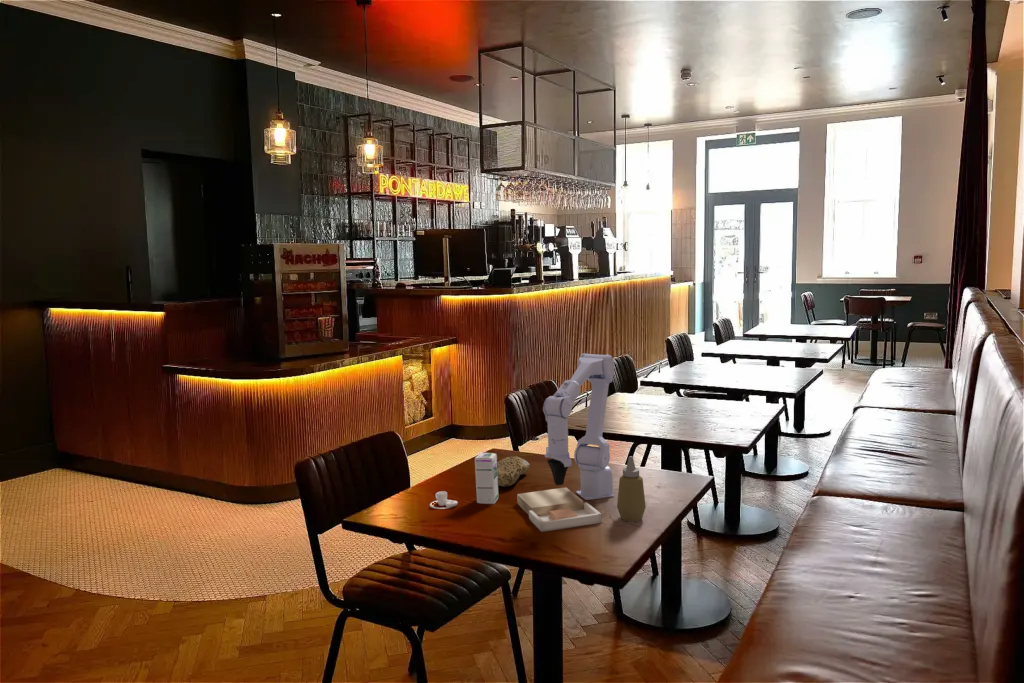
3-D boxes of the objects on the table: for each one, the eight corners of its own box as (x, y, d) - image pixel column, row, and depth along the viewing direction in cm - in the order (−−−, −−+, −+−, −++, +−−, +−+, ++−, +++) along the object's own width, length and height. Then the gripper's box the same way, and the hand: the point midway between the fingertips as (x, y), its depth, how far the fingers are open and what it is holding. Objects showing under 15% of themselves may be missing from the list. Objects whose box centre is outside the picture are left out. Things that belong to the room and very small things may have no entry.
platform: (566, 496, 223) (566, 487, 223) (583, 510, 211) (583, 500, 211) (517, 503, 218) (517, 494, 218) (531, 518, 206) (531, 508, 206)
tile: (569, 513, 208) (569, 508, 208) (577, 520, 202) (577, 515, 202) (549, 516, 206) (549, 511, 206) (557, 523, 200) (557, 518, 200)
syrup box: (495, 504, 218) (493, 457, 217) (476, 503, 220) (474, 457, 218) (498, 497, 224) (497, 452, 222) (480, 497, 225) (478, 452, 223)
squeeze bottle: (611, 516, 206) (610, 455, 204) (635, 511, 209) (635, 451, 207) (626, 525, 198) (626, 462, 196) (651, 520, 202) (651, 458, 199)
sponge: (505, 473, 253) (471, 478, 236) (510, 452, 252) (477, 454, 235) (536, 486, 245) (504, 491, 228) (542, 464, 245) (510, 467, 228)
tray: (586, 510, 211) (586, 502, 211) (601, 522, 201) (601, 514, 201) (529, 519, 205) (528, 510, 205) (541, 532, 196) (541, 523, 195)
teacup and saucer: (461, 507, 218) (461, 494, 217) (437, 513, 214) (436, 499, 213) (448, 499, 225) (448, 486, 225) (425, 504, 221) (424, 491, 221)
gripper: (536, 433, 210) (537, 478, 212) (554, 446, 196) (555, 494, 198) (558, 431, 212) (559, 475, 214) (578, 443, 199) (579, 490, 200)
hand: (559, 484), depth 206 cm, fingers closed
